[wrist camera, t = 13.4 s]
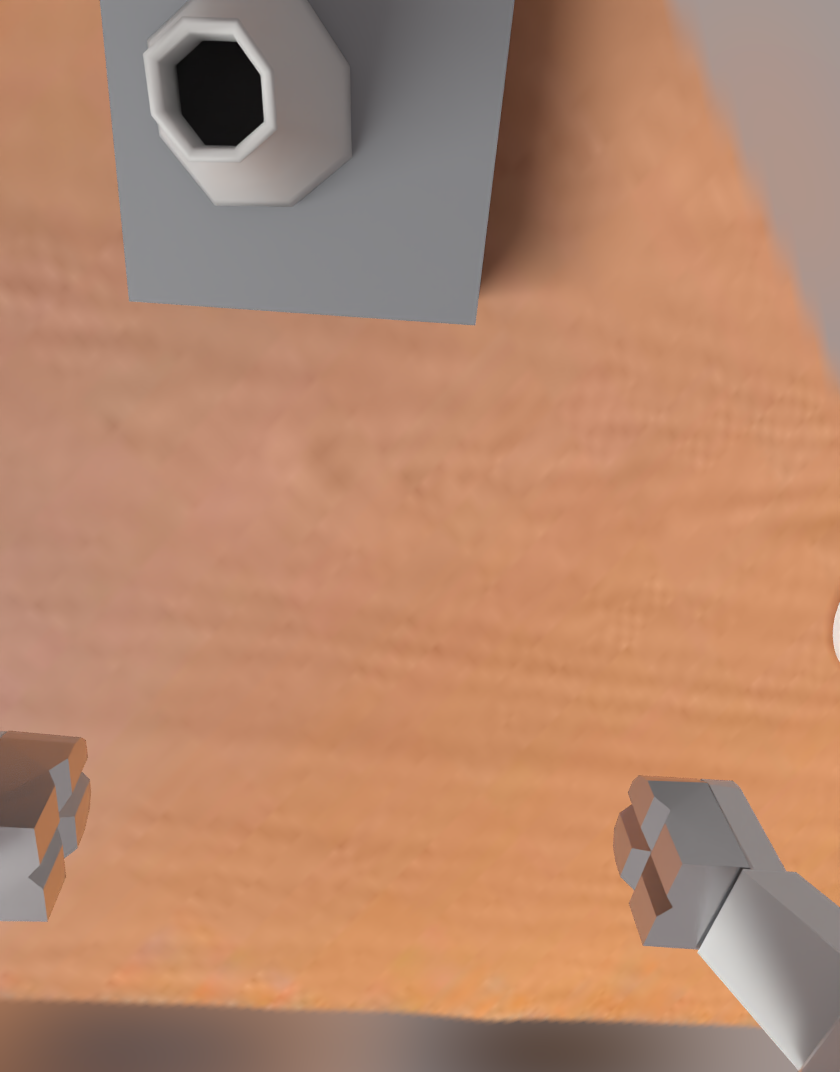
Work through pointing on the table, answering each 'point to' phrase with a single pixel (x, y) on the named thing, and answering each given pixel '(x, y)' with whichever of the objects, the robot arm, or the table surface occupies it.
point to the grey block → (347, 194)
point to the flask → (250, 98)
